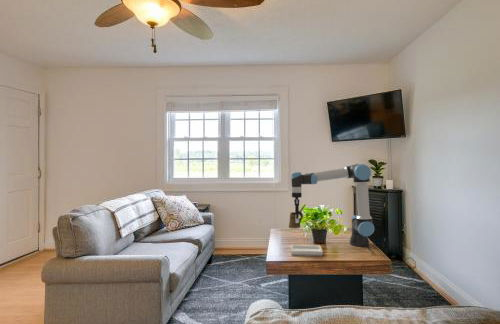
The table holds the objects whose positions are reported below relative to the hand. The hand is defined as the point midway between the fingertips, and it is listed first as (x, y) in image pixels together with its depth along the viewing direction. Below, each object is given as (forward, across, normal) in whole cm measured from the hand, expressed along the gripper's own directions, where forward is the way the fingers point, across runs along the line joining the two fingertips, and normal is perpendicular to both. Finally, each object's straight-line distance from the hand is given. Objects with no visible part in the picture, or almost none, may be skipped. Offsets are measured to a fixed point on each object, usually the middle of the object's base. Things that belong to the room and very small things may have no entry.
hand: (297, 221), depth 240 cm
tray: (+21, +9, +6) cm, 23 cm away
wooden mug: (+4, +1, 0) cm, 4 cm away
